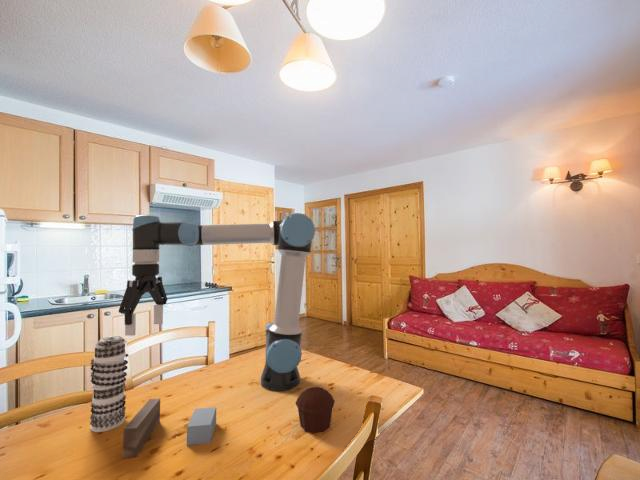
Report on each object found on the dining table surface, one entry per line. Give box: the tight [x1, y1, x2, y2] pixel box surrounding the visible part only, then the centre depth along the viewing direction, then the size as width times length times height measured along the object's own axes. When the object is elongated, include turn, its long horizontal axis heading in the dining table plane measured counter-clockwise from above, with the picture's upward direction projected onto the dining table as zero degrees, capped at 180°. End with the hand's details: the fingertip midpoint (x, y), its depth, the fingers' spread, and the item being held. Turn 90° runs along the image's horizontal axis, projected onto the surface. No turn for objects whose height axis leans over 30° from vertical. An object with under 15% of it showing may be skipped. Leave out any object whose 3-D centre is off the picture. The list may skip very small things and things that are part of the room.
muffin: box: [295, 386, 336, 435], centre depth 88 cm, size 12×11×10 cm
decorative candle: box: [89, 335, 129, 433], centre depth 88 cm, size 9×9×25 cm
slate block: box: [186, 406, 217, 446], centre depth 83 cm, size 6×9×5 cm, turn 10°
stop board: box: [122, 398, 161, 459], centre depth 81 cm, size 3×15×7 cm, turn 8°
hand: (145, 329), depth 95 cm, fingers open, 13 cm apart
